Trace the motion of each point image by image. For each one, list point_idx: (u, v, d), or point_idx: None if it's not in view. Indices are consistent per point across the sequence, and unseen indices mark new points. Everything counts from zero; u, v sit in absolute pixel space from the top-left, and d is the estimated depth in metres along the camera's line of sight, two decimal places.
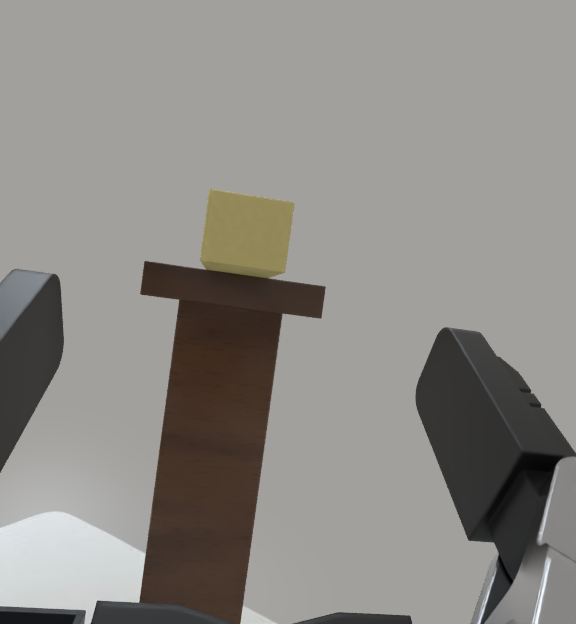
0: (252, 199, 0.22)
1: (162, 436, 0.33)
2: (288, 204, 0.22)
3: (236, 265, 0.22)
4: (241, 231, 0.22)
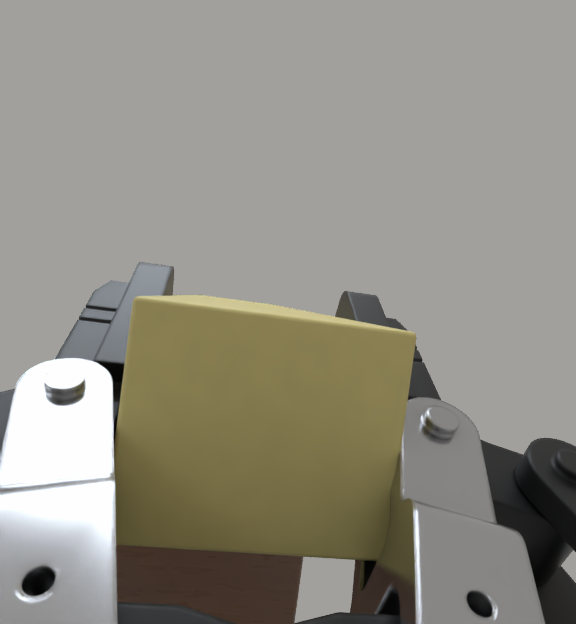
0: (281, 327, 0.06)
1: None
2: (399, 340, 0.07)
3: (227, 548, 0.07)
4: (243, 436, 0.06)
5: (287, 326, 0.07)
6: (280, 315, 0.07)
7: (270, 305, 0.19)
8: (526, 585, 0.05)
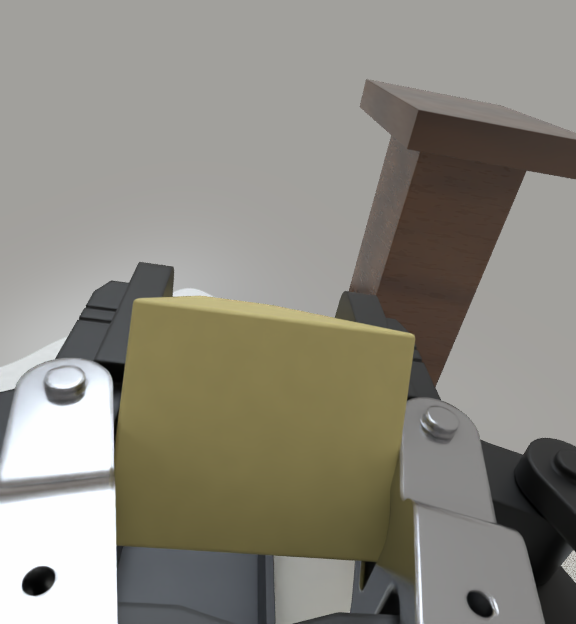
0: (280, 330, 0.07)
1: (382, 279, 0.34)
2: (398, 342, 0.07)
3: (227, 549, 0.07)
4: (242, 437, 0.06)
5: (286, 328, 0.07)
6: (279, 317, 0.07)
7: None
8: (526, 585, 0.05)
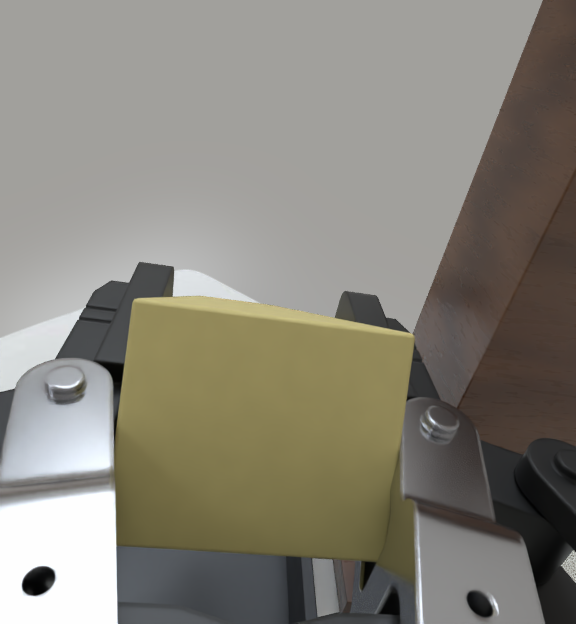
0: (280, 329, 0.07)
1: (541, 243, 0.18)
2: (397, 342, 0.07)
3: (227, 549, 0.07)
4: (242, 437, 0.06)
5: (286, 328, 0.07)
6: (279, 317, 0.07)
7: (270, 306, 0.19)
8: (526, 585, 0.05)
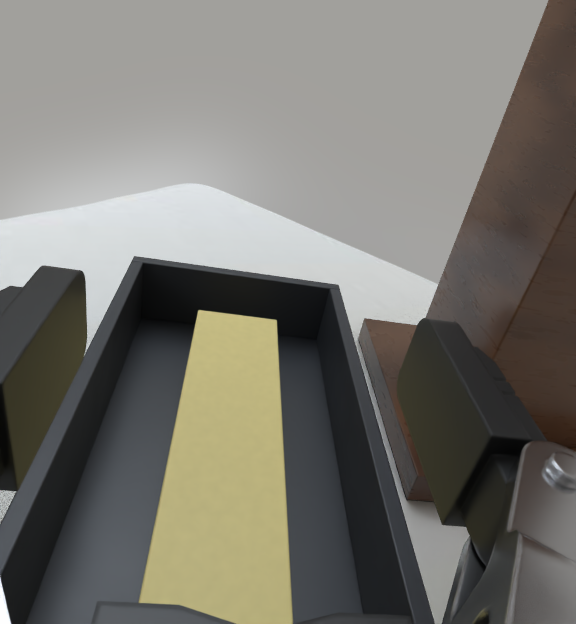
0: None
1: None
2: None
3: None
4: None
5: None
6: None
7: (260, 418, 0.18)
8: None
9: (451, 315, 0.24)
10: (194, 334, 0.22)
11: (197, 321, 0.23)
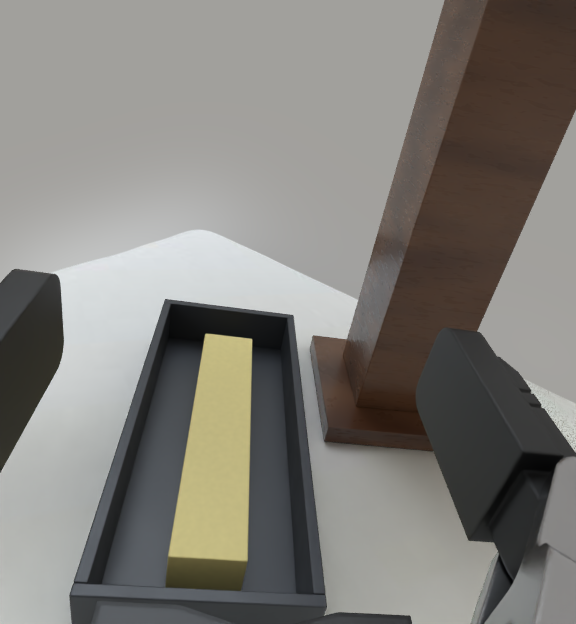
0: (208, 560, 0.24)
1: (442, 144, 0.28)
2: (242, 562, 0.24)
3: None
4: (199, 578, 0.24)
5: (210, 560, 0.24)
6: (208, 557, 0.24)
7: (239, 393, 0.34)
8: None
9: (358, 335, 0.40)
10: (203, 348, 0.38)
11: (205, 340, 0.39)
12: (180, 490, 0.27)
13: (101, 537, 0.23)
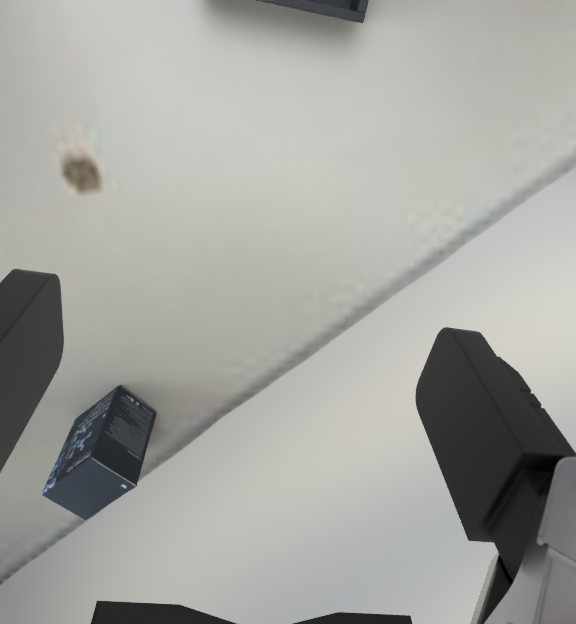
0: None
1: None
2: None
3: None
4: None
5: None
6: None
7: None
8: None
9: None
10: None
11: None
12: None
13: None
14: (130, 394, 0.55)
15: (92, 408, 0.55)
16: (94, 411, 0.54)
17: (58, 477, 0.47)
